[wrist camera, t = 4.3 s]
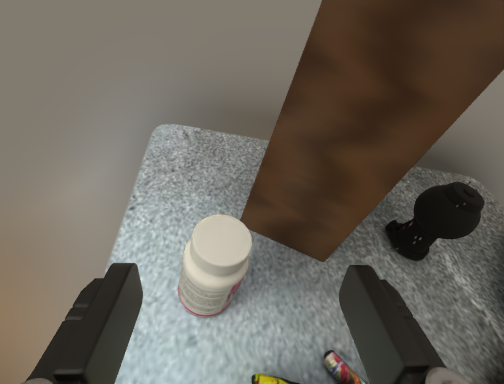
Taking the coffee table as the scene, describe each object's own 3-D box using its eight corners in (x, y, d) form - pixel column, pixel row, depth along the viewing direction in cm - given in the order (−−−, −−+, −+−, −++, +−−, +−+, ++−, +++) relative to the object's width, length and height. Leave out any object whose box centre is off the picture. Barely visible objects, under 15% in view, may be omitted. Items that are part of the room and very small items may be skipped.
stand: (238, 224, 29) (381, -158, 10) (264, 171, 36) (376, -111, 17) (323, 262, 28) (632, -69, 10) (332, 201, 35) (521, -57, 17)
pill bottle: (230, 322, 22) (257, 278, 16) (171, 315, 21) (176, 266, 15) (235, 269, 25) (258, 216, 19) (184, 261, 24) (193, 203, 18)
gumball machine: (392, 215, 36) (448, 161, 29) (432, 245, 34) (503, 195, 27) (374, 241, 32) (435, 185, 25) (419, 276, 30) (498, 227, 23)
